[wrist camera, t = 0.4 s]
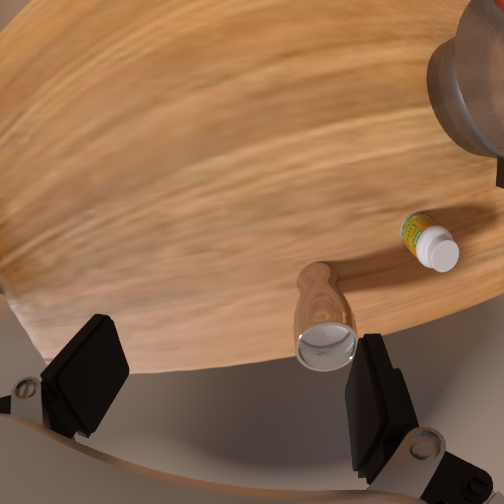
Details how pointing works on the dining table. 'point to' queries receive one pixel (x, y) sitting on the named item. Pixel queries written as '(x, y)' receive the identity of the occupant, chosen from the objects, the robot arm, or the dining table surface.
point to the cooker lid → (482, 66)
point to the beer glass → (323, 320)
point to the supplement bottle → (429, 242)
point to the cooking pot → (457, 108)
